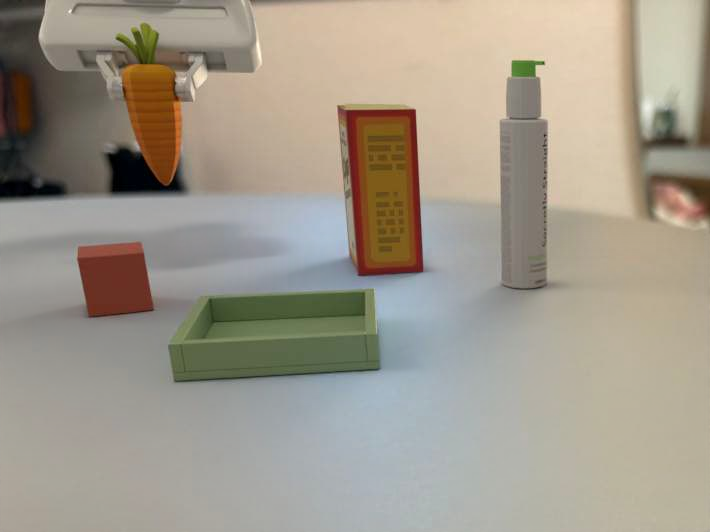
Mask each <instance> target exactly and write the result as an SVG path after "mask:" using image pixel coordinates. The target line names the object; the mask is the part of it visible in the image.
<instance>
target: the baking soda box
mask: <svg viewBox="0 0 710 532" xmlns="http://www.w3.org/2000/svg"><path fill="white" fill-rule="evenodd" d="M336 106H337V119H338V131H339V132H338V133H339V144H340V154H341V155H340V156H341V157H340V158H341V169H342V181H343V182H342V183H343V193H344V205H345V217H346V218H345V219H346V229H347V243H348V254H349V255H348V257H349V258H350V260H351V263H352V264H353V266H354V269H355V272H356V273H357V276H375V275H390V274H391V275H393V274H405V273H408V274H409V273H423V272H424V252H423V249H424V248H423V232H422V231H423V230H422V229H423V228H422V211H421V210H422V209H421V208H422V207H421V189H420V187H421V186H420V168H419V167H420V166H419V145H418V144H419V143H418V127H417V126H418V125H417V109H416V108H413V107H411V106H408V105H406V104H399V103H398V104H394V103H393V104H392V103H391V104H389V103H385V104H383V103H381V104H380V103H345V102H344V104H337V105H336Z"/></svg>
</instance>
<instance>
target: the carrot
mask: <svg viewBox="0 0 710 532" xmlns="http://www.w3.org/2000/svg"><path fill="white" fill-rule="evenodd" d="M140 29H141V33H142V36H141V33H140V31H139V29H138V28H136V27H135V28H131V31H132V34H133V36H134V39H135V42H136V44H135V45H134V44H133V42H132V41H131V40H130V39H129V38H127V37H126V36H124V35H122V34H117V35H116V37H115V39H116V40H118V41H120V42H122V43H124V44H125V45H126V46H127V47H128V48H129V49H130V50H131V51H132V52H133V54H134V55H135V57H136V58H137V60H138V62H139V64H134V65H130V66H128V67H126V68H125V69H124V70H123V71H122V72H121V76H122V84H123V86H124V92H125V99H126V101H125V105H126V109H127V112H128V118H129V121H130V126H131V129H132V130H133V134H134V137H135V140H136V142H137V145H138V148H139V150H140V152H141V155H142V156H143V159H144V160H145V162H146V164H147V166H148V168H149V169H150V171H151V172H152V174H153V175H154V176H155V178H156V179H157V180H158V182H159V183H161V184H162V185H163V186H166V187H167V186H169V185H170V184H171V182H172V181H173V179H174V176H175V173H176V170H177V168H178V164H179V161H180V160H179V159H180V156H181V152H182V151H181V149H182V136H183V135H182V134H183V131H182V130H183V119H182V105H181V102H178V99H177V96H176V93H175V85H176V83H175V77H178V76H177V74H176V73H177V72H174V71H173V70H172V69H171V68H170V67H168V66H165V65H161V64H155V49H156V46H157V42H158V38H159V33H158V32H157V31H156V30H151V26H150V25H148V24H147V23H141V24H140ZM142 37H143V39H142ZM143 40H144V42H143ZM144 44H145V46H144Z"/></svg>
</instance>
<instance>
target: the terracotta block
mask: <svg viewBox="0 0 710 532" xmlns="http://www.w3.org/2000/svg"><path fill="white" fill-rule="evenodd" d="M76 256H77V257H76V260H77V264H78V269H79V274H80V279H81V285H82V289H83V294H84V299H85V304H86V308H87V314H88V317H89V318H92V317H93V318H94V317H101V316H113V315H121V314H130V313H138V312H148V311H149V312H150V311H153V310H155V309H154V303H153V302H154V301H153V296H152V291H151V286H150V285H151V284H150V279H149V273H148V268H147V262H146V256H145V251H144V247H143V243H142V242H141V241H133V242H120V243H107V244H95V245H94V244H93V245H81V246H78V247H77V255H76Z"/></svg>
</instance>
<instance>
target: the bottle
mask: <svg viewBox="0 0 710 532" xmlns="http://www.w3.org/2000/svg"><path fill="white" fill-rule="evenodd" d="M545 65H546V61H545V60H532V59H527V60H526V59H513V60H511V68H510V69H511V71H510V72H511V73H510V76H507V77H506V90H505V117H506V118H501V119H499V172H500V174H499V175H500V177H499V178H500V179H499V180H500V182H499V183H500V246H501V247H500V249H501V253H500V255H501V257H500V258H501V284H502V285H503V286H505V287H507V288H513V289H520V290H521V289H522V290H523V289H526V290H527V289H537V288H541V287H544V286H546V284H547V282H548V174H549V173H548V172H549V171H548V169H549V168H548V163H549V162H548V161H549V160H548V158H549V156H548V155H549V153H548V152H549V145H548V143H549V121H548V119H546V118H542V87H541V77H539V76H537V72H536V71H537V69H536V66H545Z"/></svg>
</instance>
